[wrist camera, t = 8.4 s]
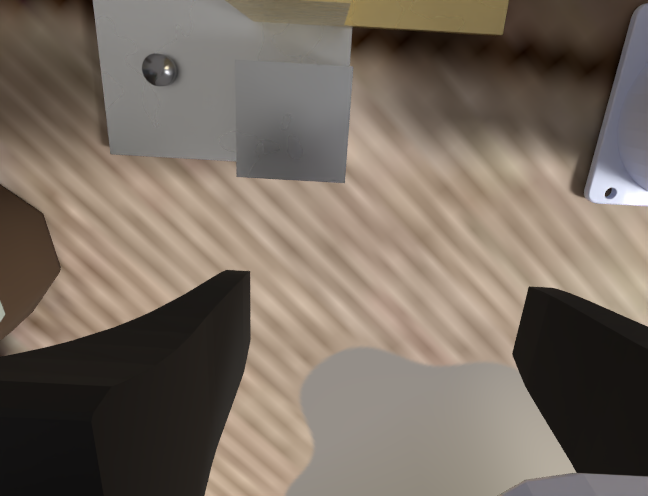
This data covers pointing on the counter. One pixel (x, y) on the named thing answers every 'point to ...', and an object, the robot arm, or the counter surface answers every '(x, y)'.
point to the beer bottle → (23, 260)
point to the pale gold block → (384, 14)
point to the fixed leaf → (225, 87)
